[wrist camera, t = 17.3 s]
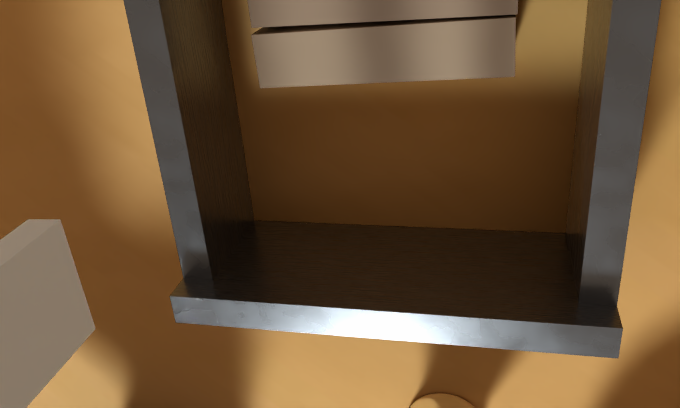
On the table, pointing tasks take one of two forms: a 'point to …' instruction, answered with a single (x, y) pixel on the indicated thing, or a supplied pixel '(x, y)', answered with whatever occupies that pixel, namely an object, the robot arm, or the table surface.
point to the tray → (393, 241)
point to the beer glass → (441, 401)
